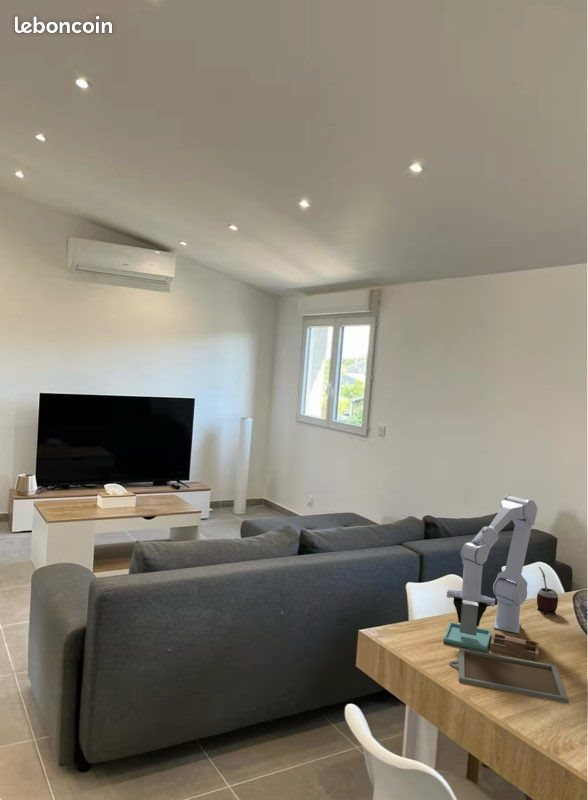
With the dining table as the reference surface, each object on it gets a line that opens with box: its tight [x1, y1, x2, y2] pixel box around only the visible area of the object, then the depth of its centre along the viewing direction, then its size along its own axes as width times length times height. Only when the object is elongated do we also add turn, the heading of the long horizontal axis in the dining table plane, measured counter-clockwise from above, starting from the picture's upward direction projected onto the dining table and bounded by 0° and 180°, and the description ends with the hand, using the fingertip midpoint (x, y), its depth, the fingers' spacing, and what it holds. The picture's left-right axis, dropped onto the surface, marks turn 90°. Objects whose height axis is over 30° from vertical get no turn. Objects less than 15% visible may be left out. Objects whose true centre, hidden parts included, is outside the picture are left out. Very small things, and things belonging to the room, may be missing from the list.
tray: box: [442, 621, 492, 653], centre depth 188 cm, size 14×13×2 cm
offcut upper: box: [504, 635, 527, 650], centre depth 181 cm, size 3×6×2 cm, turn 68°
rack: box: [489, 632, 540, 662], centre depth 183 cm, size 8×14×2 cm, turn 67°
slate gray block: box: [459, 602, 478, 636], centre depth 188 cm, size 2×5×9 cm, turn 67°
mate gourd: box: [536, 566, 559, 616], centre depth 216 cm, size 8×8×15 cm
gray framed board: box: [449, 648, 569, 704], centre depth 167 cm, size 19×2×30 cm
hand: (468, 623), depth 188 cm, fingers closed on slate gray block, 5 cm apart
